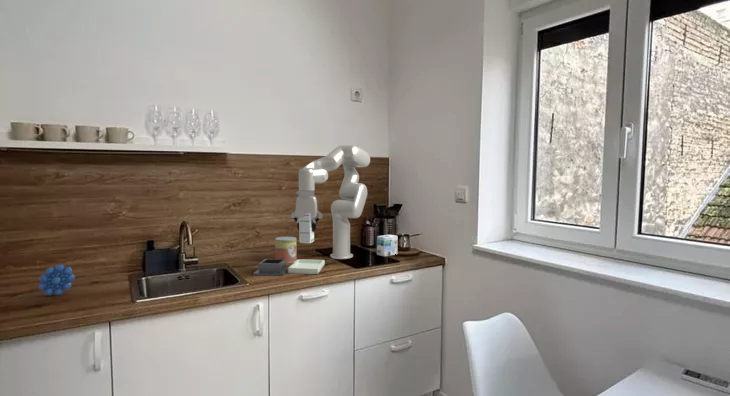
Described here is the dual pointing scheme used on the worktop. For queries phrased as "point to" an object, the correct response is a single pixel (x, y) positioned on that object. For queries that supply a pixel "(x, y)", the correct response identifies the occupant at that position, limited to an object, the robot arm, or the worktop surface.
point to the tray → (306, 266)
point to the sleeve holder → (272, 267)
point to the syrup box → (306, 229)
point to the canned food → (286, 249)
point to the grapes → (56, 280)
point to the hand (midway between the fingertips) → (306, 230)
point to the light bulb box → (387, 245)
